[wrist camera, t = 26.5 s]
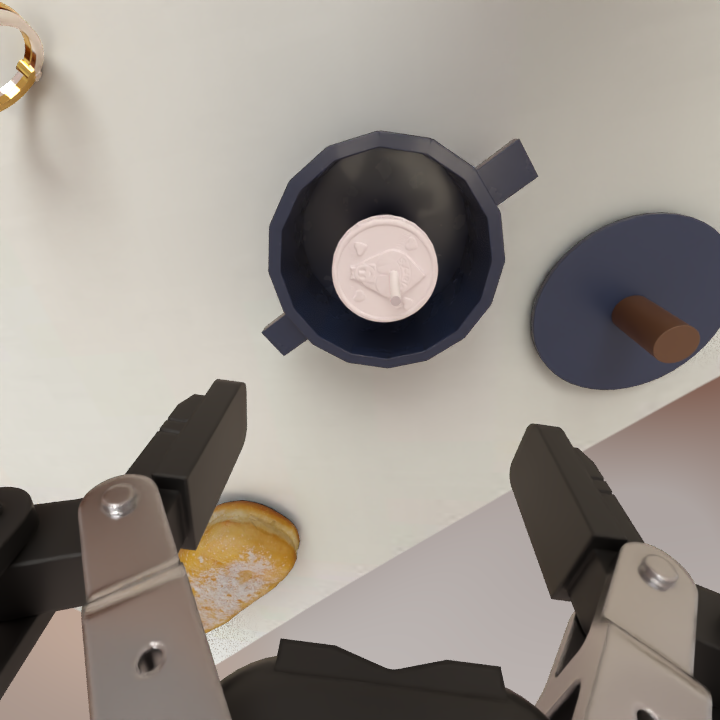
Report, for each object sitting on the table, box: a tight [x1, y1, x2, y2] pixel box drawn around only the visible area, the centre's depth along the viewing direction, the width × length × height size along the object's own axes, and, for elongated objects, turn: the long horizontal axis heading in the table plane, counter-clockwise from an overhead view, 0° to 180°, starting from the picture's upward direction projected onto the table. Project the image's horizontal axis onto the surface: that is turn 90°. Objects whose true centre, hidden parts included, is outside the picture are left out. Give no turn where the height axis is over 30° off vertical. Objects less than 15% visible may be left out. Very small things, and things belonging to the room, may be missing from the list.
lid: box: [531, 212, 720, 390], centre depth 31 cm, size 16×16×7 cm
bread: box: [178, 500, 300, 633], centre depth 50 cm, size 13×26×8 cm, turn 139°
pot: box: [262, 131, 538, 368], centre depth 29 cm, size 15×20×8 cm
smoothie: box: [332, 214, 438, 322], centre depth 26 cm, size 6×6×14 cm
